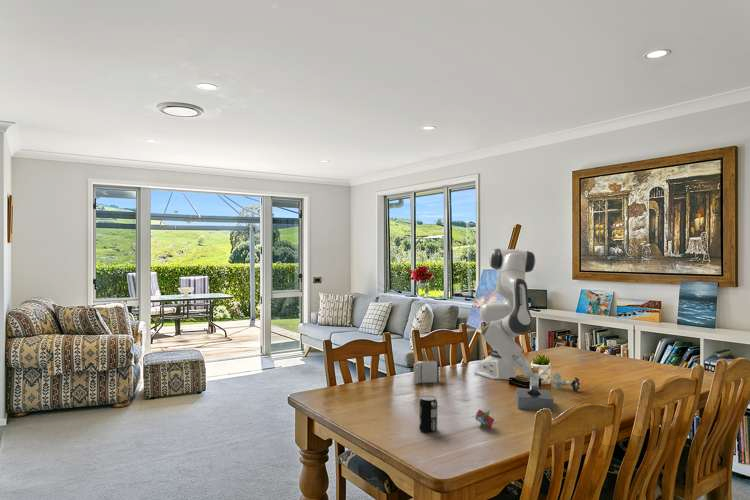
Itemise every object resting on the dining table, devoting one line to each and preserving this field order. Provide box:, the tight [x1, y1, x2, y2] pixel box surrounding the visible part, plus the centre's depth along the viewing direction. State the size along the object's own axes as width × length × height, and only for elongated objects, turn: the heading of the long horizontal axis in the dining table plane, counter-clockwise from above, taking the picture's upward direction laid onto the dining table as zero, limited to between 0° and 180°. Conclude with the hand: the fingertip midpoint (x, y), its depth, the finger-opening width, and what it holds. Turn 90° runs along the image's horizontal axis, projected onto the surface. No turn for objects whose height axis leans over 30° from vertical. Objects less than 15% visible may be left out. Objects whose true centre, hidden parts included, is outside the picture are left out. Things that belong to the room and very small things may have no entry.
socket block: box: [515, 387, 554, 412], centre depth 216 cm, size 14×14×5 cm
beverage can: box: [418, 394, 438, 434], centre depth 185 cm, size 7×7×12 cm
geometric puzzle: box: [475, 409, 495, 430], centre depth 188 cm, size 7×7×8 cm
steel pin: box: [529, 365, 540, 394], centre depth 216 cm, size 4×4×11 cm
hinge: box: [413, 360, 440, 385], centre depth 254 cm, size 14×5×10 cm, turn 106°
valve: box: [551, 373, 581, 393], centre depth 242 cm, size 7×7×12 cm
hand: (535, 377), depth 216 cm, fingers closed on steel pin, 4 cm apart
